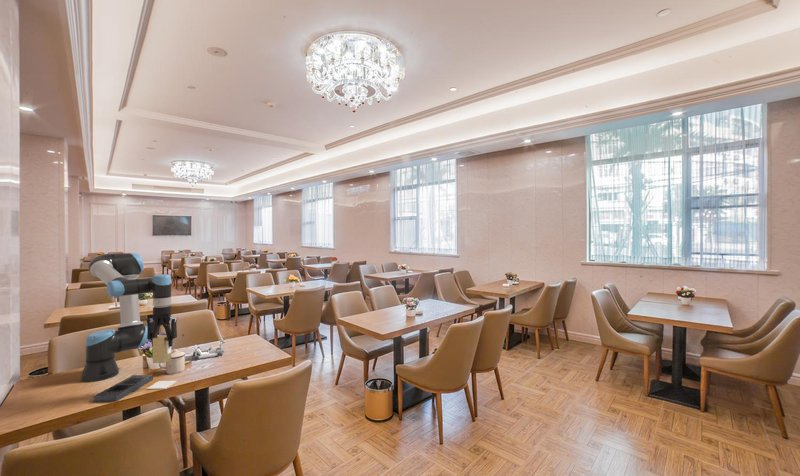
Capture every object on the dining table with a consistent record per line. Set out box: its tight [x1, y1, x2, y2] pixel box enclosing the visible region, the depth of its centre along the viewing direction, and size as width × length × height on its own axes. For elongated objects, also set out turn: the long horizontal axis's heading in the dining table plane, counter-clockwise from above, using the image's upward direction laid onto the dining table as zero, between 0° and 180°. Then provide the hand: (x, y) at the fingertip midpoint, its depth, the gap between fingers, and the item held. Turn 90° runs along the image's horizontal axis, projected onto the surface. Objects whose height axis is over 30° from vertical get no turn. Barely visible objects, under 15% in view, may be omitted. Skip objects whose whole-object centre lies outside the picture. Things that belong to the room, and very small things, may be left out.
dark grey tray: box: [92, 374, 154, 403], centre depth 168 cm, size 10×24×3 cm, turn 2°
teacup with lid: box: [158, 348, 186, 375], centre depth 191 cm, size 12×9×12 cm
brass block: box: [152, 334, 171, 364], centre depth 173 cm, size 6×6×12 cm
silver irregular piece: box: [192, 338, 227, 362], centre depth 217 cm, size 18×10×12 cm
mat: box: [146, 380, 177, 390], centre depth 173 cm, size 9×9×1 cm
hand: (162, 353), depth 173 cm, fingers closed on brass block, 5 cm apart
